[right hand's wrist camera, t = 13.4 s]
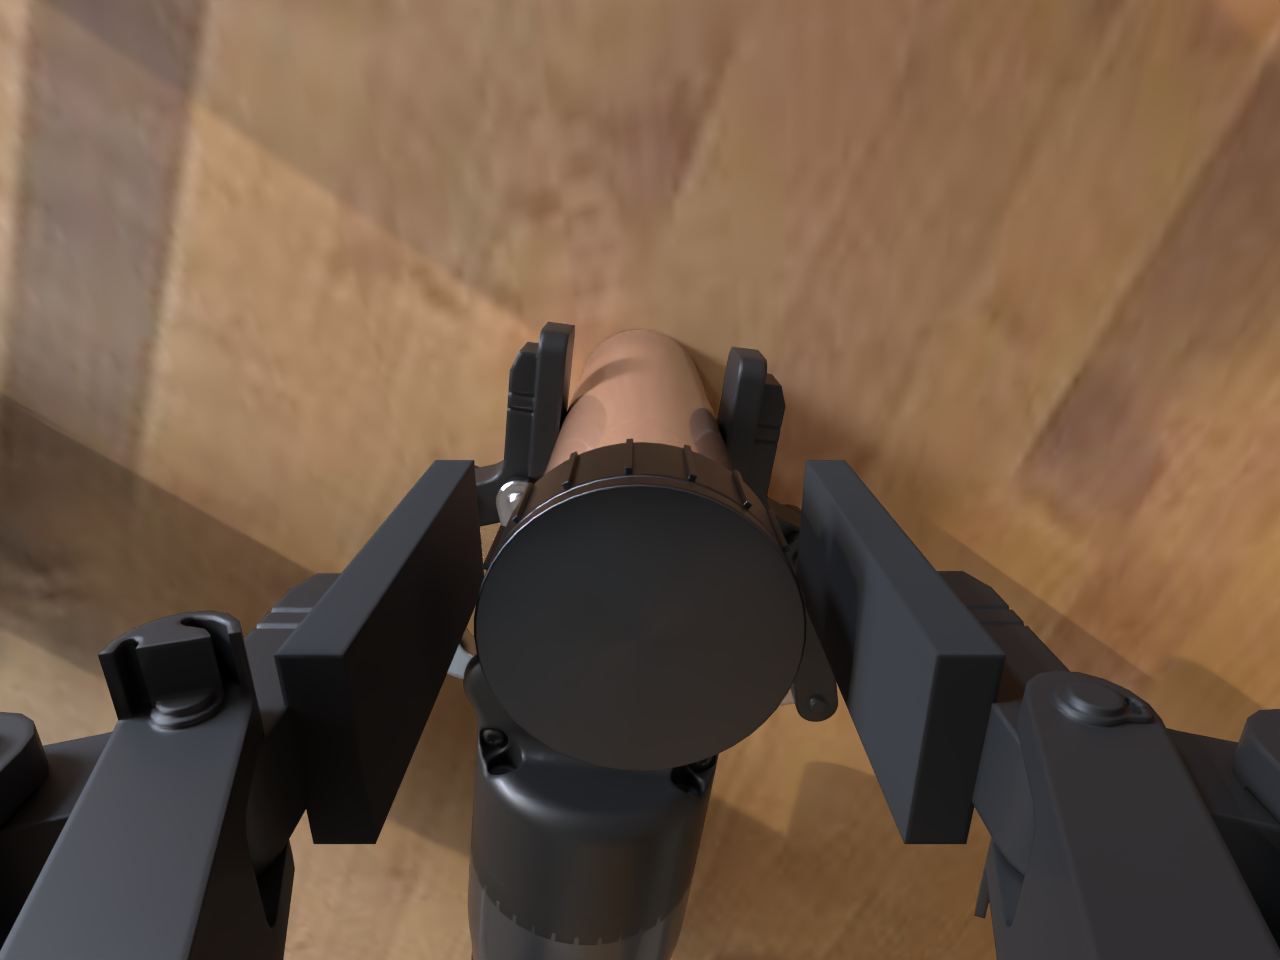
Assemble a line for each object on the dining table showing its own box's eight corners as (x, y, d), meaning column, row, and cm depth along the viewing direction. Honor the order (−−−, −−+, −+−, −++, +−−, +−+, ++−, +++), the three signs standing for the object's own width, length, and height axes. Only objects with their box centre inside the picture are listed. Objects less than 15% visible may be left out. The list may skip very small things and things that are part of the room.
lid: (808, 664, 13) (836, 739, 11) (543, 721, 13) (528, 802, 11) (755, 405, 11) (778, 442, 9) (453, 479, 12) (418, 529, 10)
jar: (712, 433, 25) (803, 706, 11) (597, 460, 26) (547, 759, 12) (685, 315, 24) (750, 462, 10) (564, 347, 24) (461, 531, 10)
